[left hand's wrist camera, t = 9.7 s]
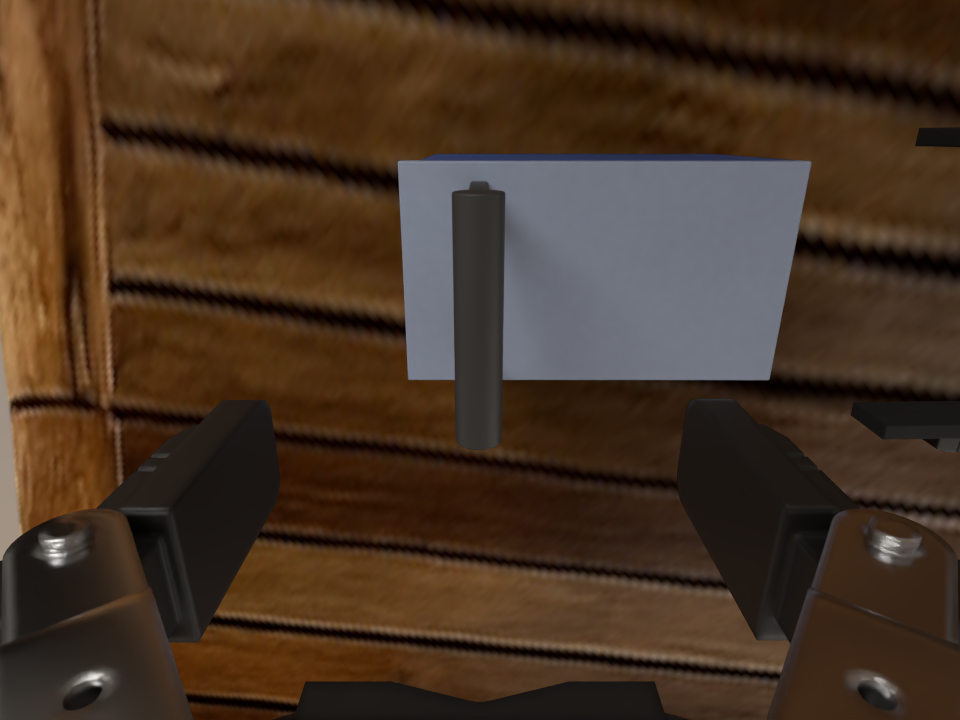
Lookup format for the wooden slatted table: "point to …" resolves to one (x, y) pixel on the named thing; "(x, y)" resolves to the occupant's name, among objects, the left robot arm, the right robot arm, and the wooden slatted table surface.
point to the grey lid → (592, 273)
